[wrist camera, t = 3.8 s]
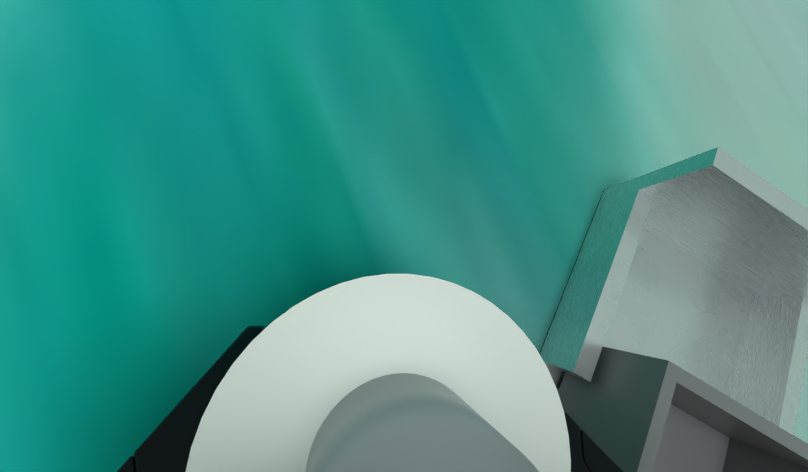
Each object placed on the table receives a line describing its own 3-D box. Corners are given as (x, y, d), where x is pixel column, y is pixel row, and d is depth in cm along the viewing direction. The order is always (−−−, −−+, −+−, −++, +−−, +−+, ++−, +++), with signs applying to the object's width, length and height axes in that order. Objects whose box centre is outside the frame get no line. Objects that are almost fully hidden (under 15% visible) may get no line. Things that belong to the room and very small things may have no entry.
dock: (712, 496, 18) (899, 599, 12) (525, 391, 17) (628, 447, 11) (759, 290, 21) (925, 290, 15) (604, 189, 20) (718, 147, 14)
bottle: (362, 439, 15) (489, 1267, 2) (265, 356, 15) (-182, 761, 2) (440, 337, 16) (776, 493, 4) (354, 259, 16) (406, 154, 4)
